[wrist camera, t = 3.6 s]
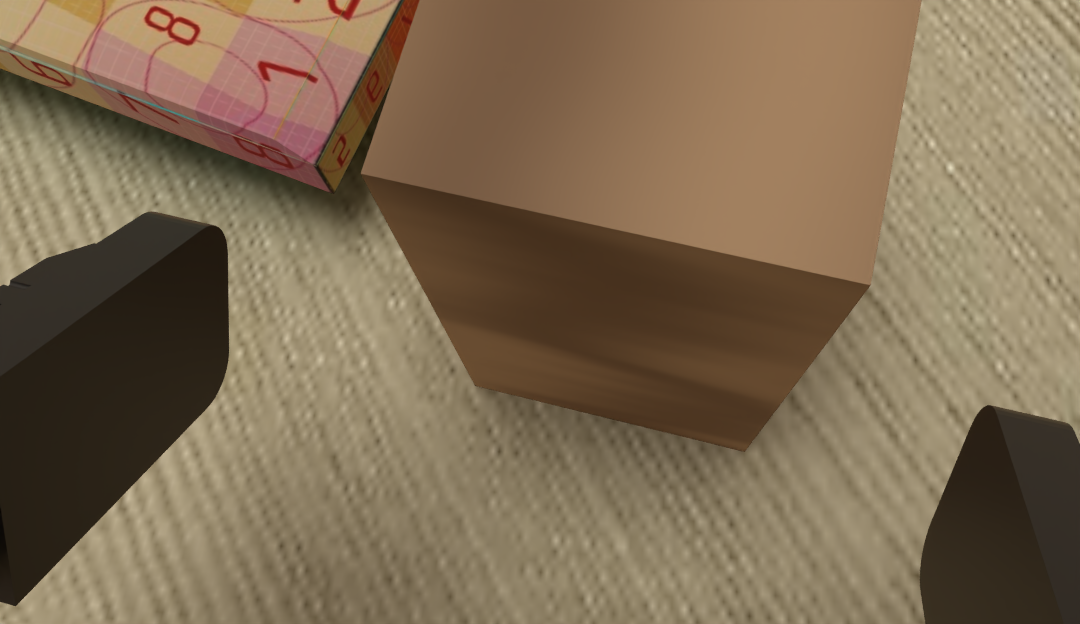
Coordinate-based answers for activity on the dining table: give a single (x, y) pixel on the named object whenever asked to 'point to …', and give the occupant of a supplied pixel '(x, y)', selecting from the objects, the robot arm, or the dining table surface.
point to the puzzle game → (222, 69)
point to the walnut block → (644, 193)
